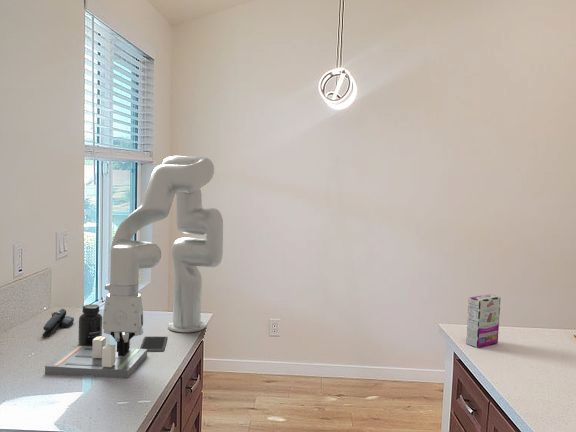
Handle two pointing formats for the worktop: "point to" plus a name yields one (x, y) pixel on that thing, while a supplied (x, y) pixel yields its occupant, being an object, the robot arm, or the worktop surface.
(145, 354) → the breaker board
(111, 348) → the block
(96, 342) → the handle
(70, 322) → the can opener
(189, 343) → the worktop surface
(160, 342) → the cell phone
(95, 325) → the supplement bottle
